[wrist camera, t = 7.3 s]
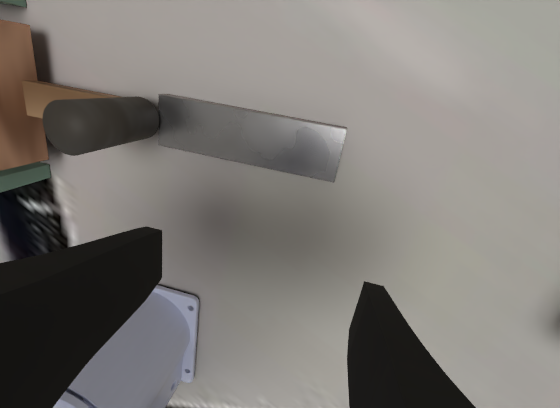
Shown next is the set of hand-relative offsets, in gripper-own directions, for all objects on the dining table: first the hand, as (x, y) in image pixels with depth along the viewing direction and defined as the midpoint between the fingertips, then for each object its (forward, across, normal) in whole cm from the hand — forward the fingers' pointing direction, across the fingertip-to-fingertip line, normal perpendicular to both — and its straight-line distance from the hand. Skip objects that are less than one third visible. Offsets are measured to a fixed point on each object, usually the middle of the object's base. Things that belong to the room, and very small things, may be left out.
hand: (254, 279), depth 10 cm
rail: (+9, +3, -3) cm, 10 cm away
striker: (+8, +14, -3) cm, 16 cm away
